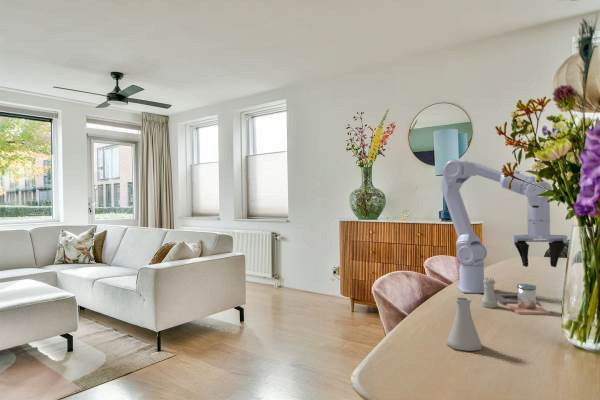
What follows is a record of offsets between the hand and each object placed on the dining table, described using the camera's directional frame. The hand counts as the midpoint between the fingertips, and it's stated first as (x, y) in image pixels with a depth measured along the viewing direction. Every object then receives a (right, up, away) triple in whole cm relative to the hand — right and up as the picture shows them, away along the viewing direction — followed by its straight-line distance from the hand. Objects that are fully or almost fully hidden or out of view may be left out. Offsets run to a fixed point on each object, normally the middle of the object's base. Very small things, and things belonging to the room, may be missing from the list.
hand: (539, 266), depth 117 cm
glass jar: (-8, -10, -8) cm, 15 cm away
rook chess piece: (-17, -11, -4) cm, 20 cm away
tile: (-8, -11, -9) cm, 16 cm away
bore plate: (-7, -11, +1) cm, 13 cm away
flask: (-36, -12, -33) cm, 50 cm away
